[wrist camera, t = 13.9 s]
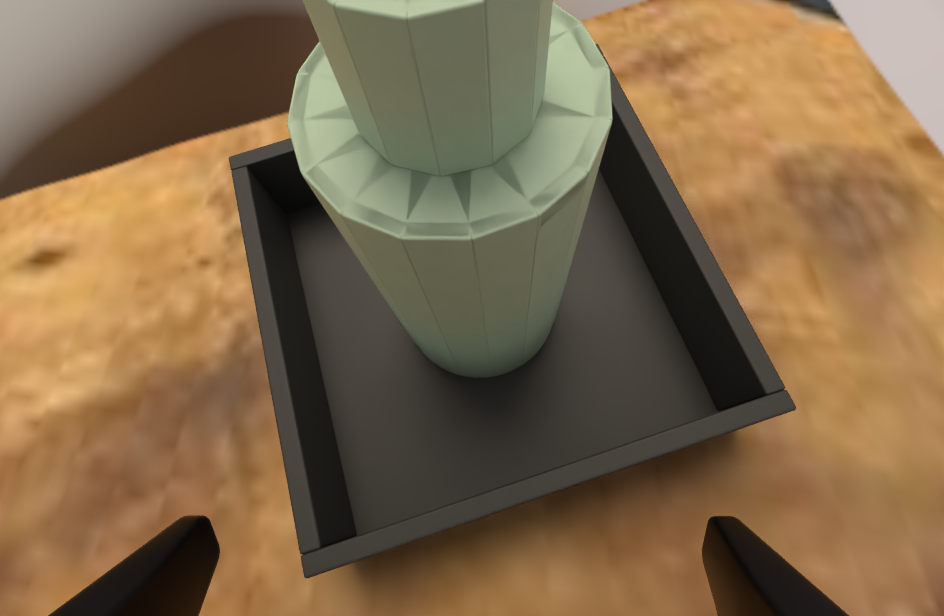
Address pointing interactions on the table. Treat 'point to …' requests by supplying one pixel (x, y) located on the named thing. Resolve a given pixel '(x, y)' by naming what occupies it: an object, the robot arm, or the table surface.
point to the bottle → (456, 161)
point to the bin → (499, 397)
